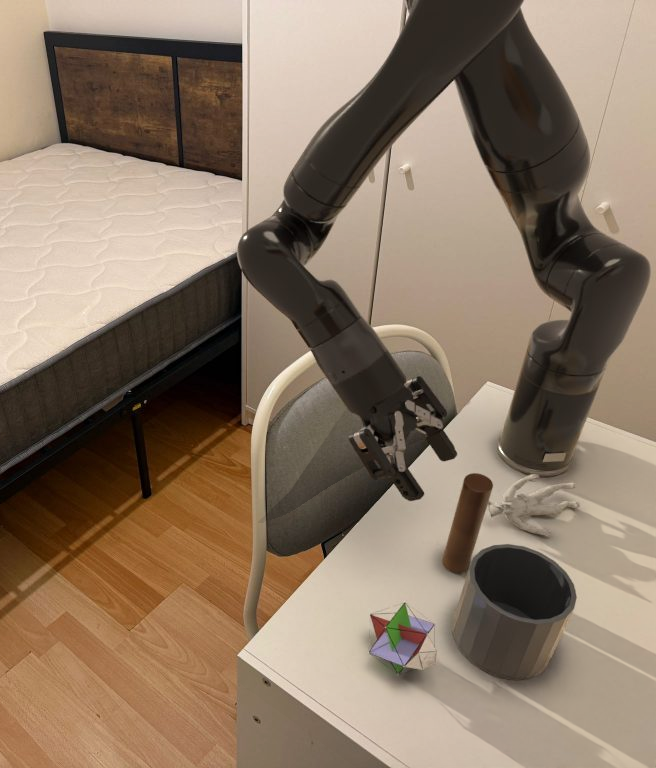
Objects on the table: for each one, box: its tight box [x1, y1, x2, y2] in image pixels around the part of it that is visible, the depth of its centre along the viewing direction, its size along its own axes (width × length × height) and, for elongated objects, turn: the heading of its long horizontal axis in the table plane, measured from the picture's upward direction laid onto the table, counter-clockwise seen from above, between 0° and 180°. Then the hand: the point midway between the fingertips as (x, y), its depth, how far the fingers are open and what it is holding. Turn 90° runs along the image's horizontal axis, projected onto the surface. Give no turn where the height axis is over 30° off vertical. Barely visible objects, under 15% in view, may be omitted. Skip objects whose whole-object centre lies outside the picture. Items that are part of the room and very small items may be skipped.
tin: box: [451, 543, 578, 681], centre depth 78 cm, size 10×10×10 cm
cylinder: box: [441, 472, 494, 575], centre depth 86 cm, size 3×3×14 cm
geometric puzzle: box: [367, 601, 437, 676], centre depth 79 cm, size 7×7×8 cm
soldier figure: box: [487, 474, 581, 537], centre depth 94 cm, size 8×5×12 cm
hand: (434, 478), depth 85 cm, fingers open, 8 cm apart
